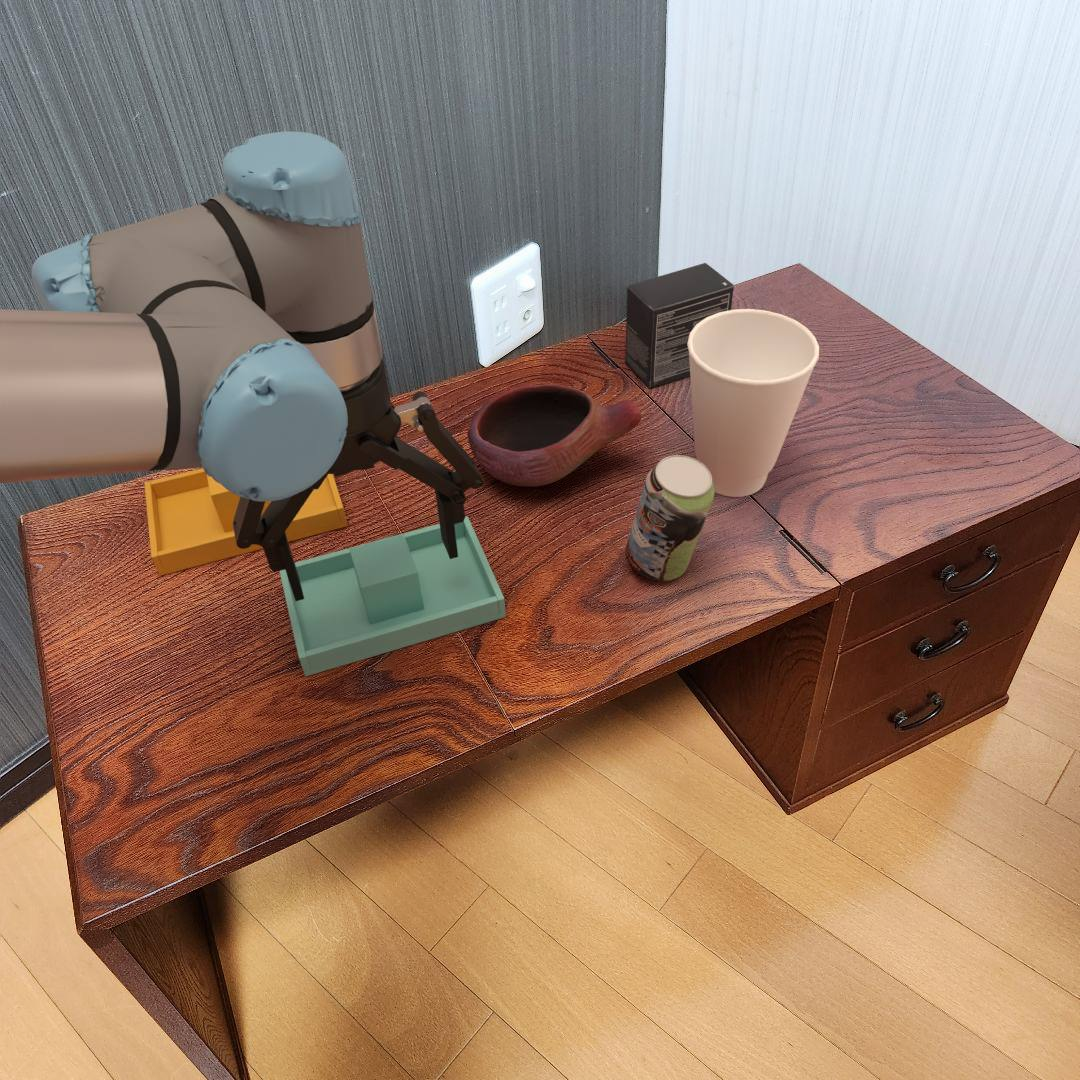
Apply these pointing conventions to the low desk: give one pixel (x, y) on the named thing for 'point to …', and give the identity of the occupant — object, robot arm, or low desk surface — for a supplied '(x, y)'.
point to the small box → (670, 320)
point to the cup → (746, 392)
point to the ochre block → (225, 503)
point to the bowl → (544, 432)
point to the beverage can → (669, 517)
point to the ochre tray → (218, 521)
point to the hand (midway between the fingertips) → (375, 568)
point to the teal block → (387, 578)
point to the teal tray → (347, 636)
